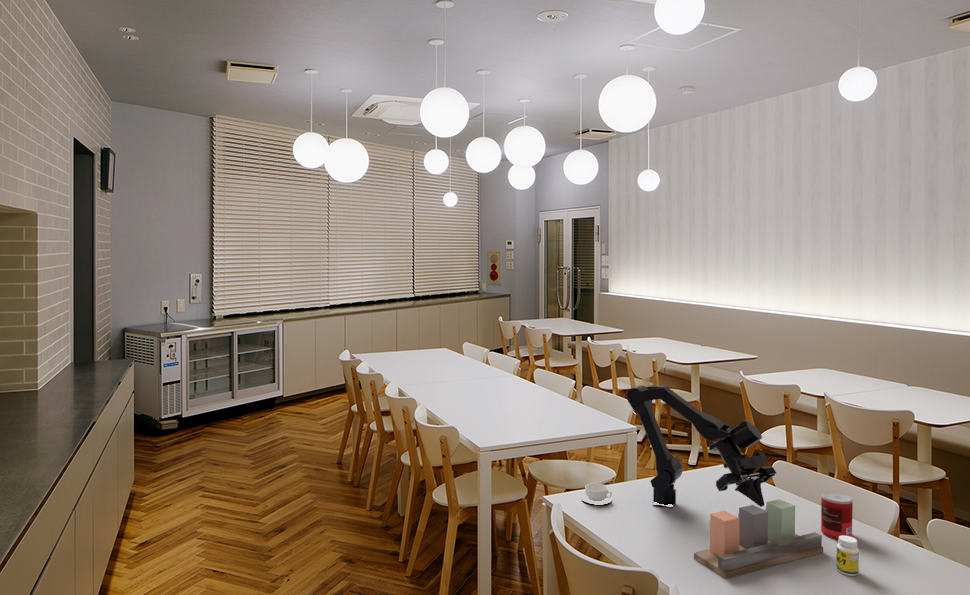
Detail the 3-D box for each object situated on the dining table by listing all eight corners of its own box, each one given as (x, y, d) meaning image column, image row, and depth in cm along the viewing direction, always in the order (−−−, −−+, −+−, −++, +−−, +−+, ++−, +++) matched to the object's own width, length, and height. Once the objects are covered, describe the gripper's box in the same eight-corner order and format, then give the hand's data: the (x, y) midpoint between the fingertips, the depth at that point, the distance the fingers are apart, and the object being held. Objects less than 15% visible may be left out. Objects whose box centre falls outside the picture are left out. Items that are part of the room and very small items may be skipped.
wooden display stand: (693, 558, 153) (693, 541, 153) (787, 535, 166) (788, 520, 165) (725, 578, 143) (725, 560, 142) (823, 552, 155) (823, 535, 155)
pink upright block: (707, 549, 154) (707, 512, 154) (721, 545, 156) (721, 509, 156) (724, 559, 149) (724, 521, 148) (739, 555, 151) (739, 517, 150)
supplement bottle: (831, 567, 148) (832, 534, 147) (849, 566, 148) (849, 534, 148) (845, 577, 143) (845, 543, 143) (863, 576, 143) (863, 542, 143)
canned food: (847, 530, 169) (848, 492, 168) (855, 542, 161) (856, 503, 161) (818, 526, 171) (818, 490, 171) (824, 538, 164) (824, 500, 163)
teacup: (578, 504, 190) (578, 490, 190) (584, 493, 199) (584, 480, 199) (608, 508, 186) (608, 494, 186) (614, 497, 195) (614, 484, 195)
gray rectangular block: (735, 542, 158) (736, 506, 158) (749, 539, 160) (749, 503, 160) (753, 552, 153) (753, 514, 152) (767, 548, 155) (768, 511, 154)
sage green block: (763, 535, 162) (763, 500, 162) (776, 532, 164) (776, 497, 163) (781, 545, 156) (781, 508, 156) (794, 541, 158) (795, 505, 158)
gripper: (723, 446, 166) (754, 498, 156) (771, 439, 173) (804, 488, 163) (703, 465, 173) (731, 516, 164) (750, 457, 180) (780, 505, 171)
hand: (762, 506), depth 165 cm, fingers closed
